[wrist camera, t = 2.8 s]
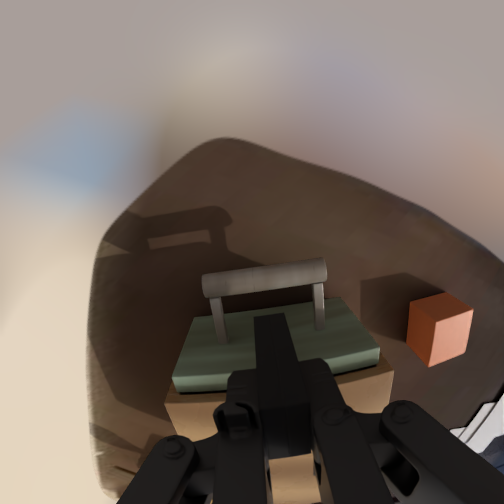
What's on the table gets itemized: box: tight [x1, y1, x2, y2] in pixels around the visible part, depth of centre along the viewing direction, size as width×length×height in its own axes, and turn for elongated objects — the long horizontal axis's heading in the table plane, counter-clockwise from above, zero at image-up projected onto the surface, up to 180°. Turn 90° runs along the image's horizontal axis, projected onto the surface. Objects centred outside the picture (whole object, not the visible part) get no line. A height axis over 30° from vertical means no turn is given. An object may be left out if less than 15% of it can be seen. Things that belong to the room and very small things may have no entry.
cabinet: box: [164, 352, 394, 504], centre depth 20 cm, size 15×13×10 cm
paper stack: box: [450, 394, 504, 453], centre depth 29 cm, size 23×25×1 cm
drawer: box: [172, 258, 380, 394], centre depth 19 cm, size 18×11×8 cm, turn 8°
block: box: [406, 292, 473, 367], centre depth 21 cm, size 4×4×4 cm
